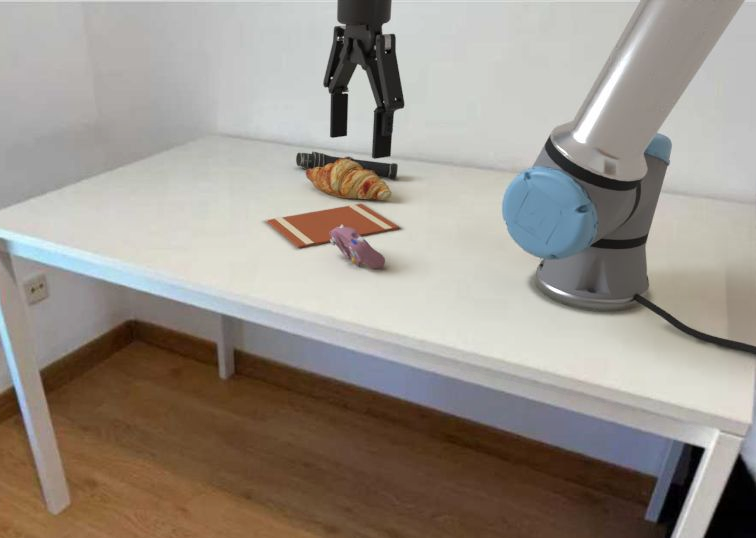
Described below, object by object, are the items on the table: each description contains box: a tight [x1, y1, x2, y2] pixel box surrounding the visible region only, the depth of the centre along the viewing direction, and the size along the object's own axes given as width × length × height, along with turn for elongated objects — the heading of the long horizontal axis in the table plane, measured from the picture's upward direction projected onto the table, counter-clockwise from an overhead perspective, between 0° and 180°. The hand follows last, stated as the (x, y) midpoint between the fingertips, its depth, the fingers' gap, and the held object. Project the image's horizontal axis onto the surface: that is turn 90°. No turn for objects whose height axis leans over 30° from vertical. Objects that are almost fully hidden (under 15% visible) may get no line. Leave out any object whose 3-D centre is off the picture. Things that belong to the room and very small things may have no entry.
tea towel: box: [267, 203, 400, 249], centre depth 126 cm, size 14×20×1 cm
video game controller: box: [329, 225, 386, 269], centre depth 110 cm, size 10×5×7 cm, turn 25°
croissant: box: [305, 157, 392, 201], centre depth 140 cm, size 21×10×8 cm, turn 51°
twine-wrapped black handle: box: [295, 150, 399, 180], centre depth 152 cm, size 4×5×25 cm
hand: (358, 146), depth 106 cm, fingers open, 13 cm apart
